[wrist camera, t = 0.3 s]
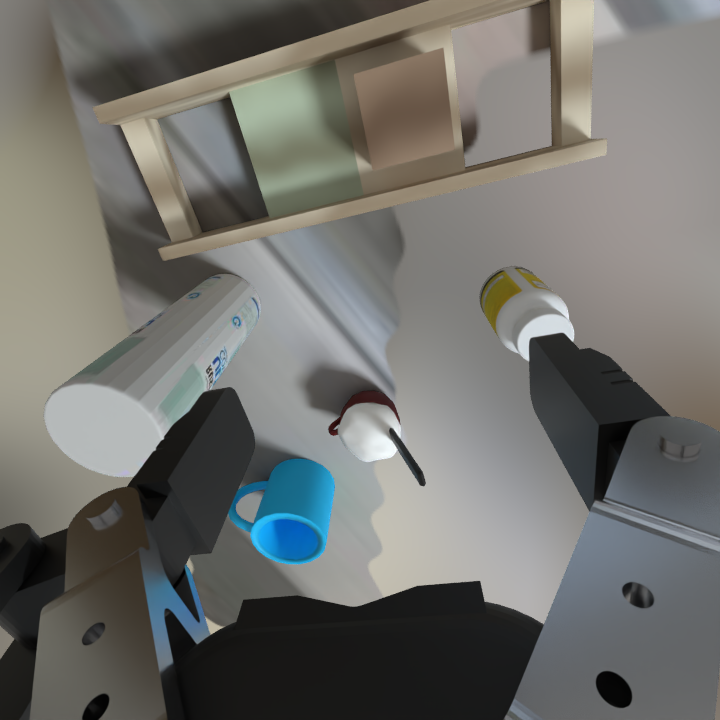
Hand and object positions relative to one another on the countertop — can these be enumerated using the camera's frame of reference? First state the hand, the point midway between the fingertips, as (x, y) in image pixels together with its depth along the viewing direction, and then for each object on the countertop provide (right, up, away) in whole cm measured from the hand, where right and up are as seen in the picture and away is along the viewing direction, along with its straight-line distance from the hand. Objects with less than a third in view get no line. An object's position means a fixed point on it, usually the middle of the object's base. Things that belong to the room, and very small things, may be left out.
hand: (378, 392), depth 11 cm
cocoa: (+1, -4, +33) cm, 34 cm away
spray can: (-13, +6, +29) cm, 32 cm away
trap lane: (-1, +19, +21) cm, 28 cm away
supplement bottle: (+13, +7, +27) cm, 30 cm away
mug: (-10, -14, +40) cm, 43 cm away
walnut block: (+3, +19, +18) cm, 26 cm away
